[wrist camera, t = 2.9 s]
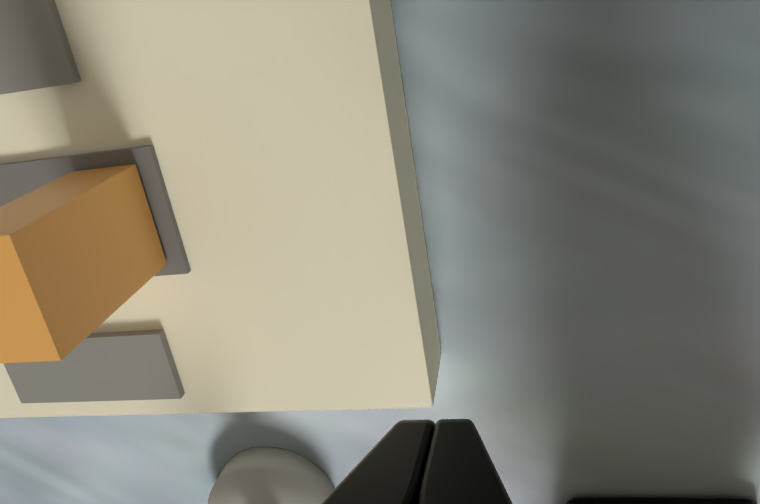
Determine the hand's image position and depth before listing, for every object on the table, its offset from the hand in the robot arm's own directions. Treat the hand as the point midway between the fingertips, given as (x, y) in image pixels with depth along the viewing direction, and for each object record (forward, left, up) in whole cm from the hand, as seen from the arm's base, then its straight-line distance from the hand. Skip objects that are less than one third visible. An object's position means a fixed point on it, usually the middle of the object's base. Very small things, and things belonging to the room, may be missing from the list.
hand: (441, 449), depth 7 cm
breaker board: (+13, 0, -13) cm, 18 cm away
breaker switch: (+10, 0, -10) cm, 14 cm away
